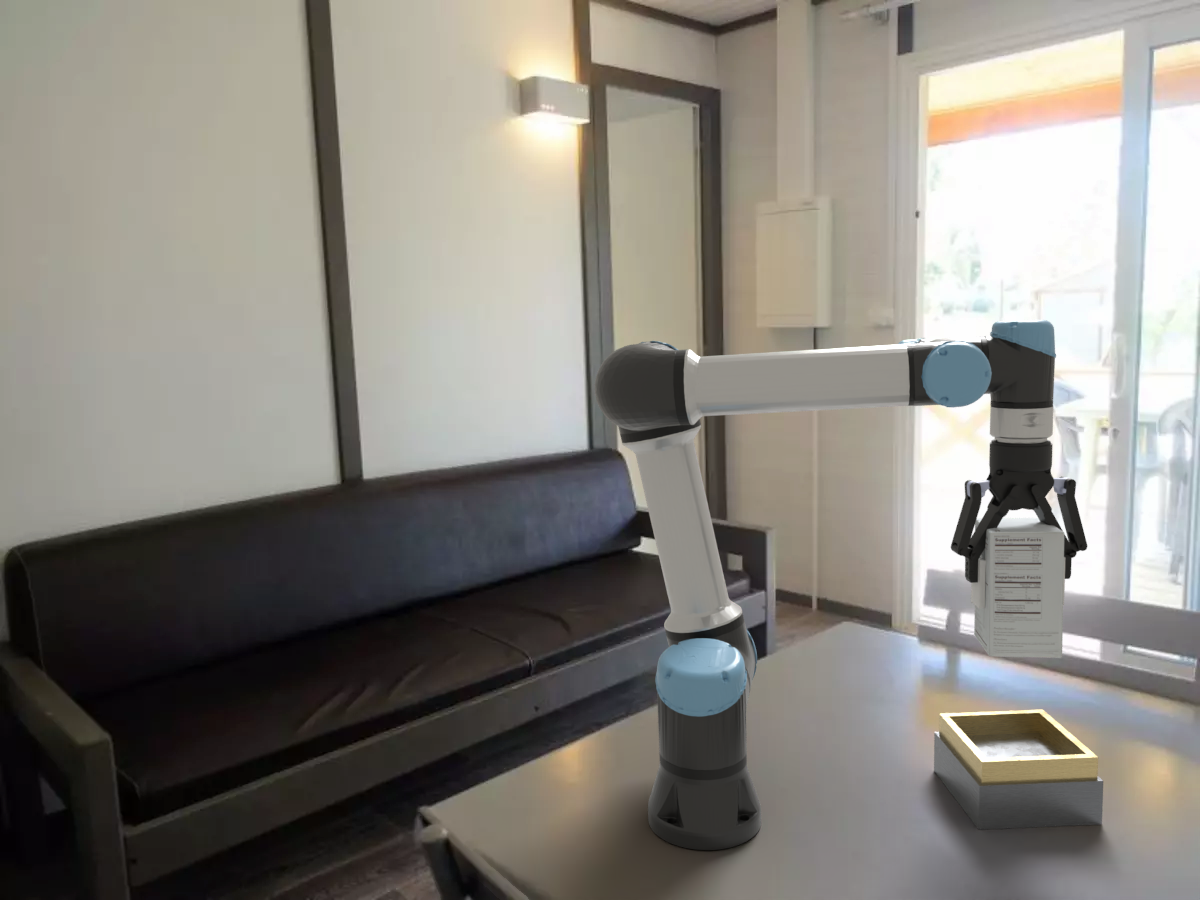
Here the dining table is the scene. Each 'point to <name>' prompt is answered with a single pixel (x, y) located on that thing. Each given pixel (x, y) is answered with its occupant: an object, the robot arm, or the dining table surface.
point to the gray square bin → (1017, 770)
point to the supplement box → (1022, 590)
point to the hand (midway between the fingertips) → (1017, 603)
